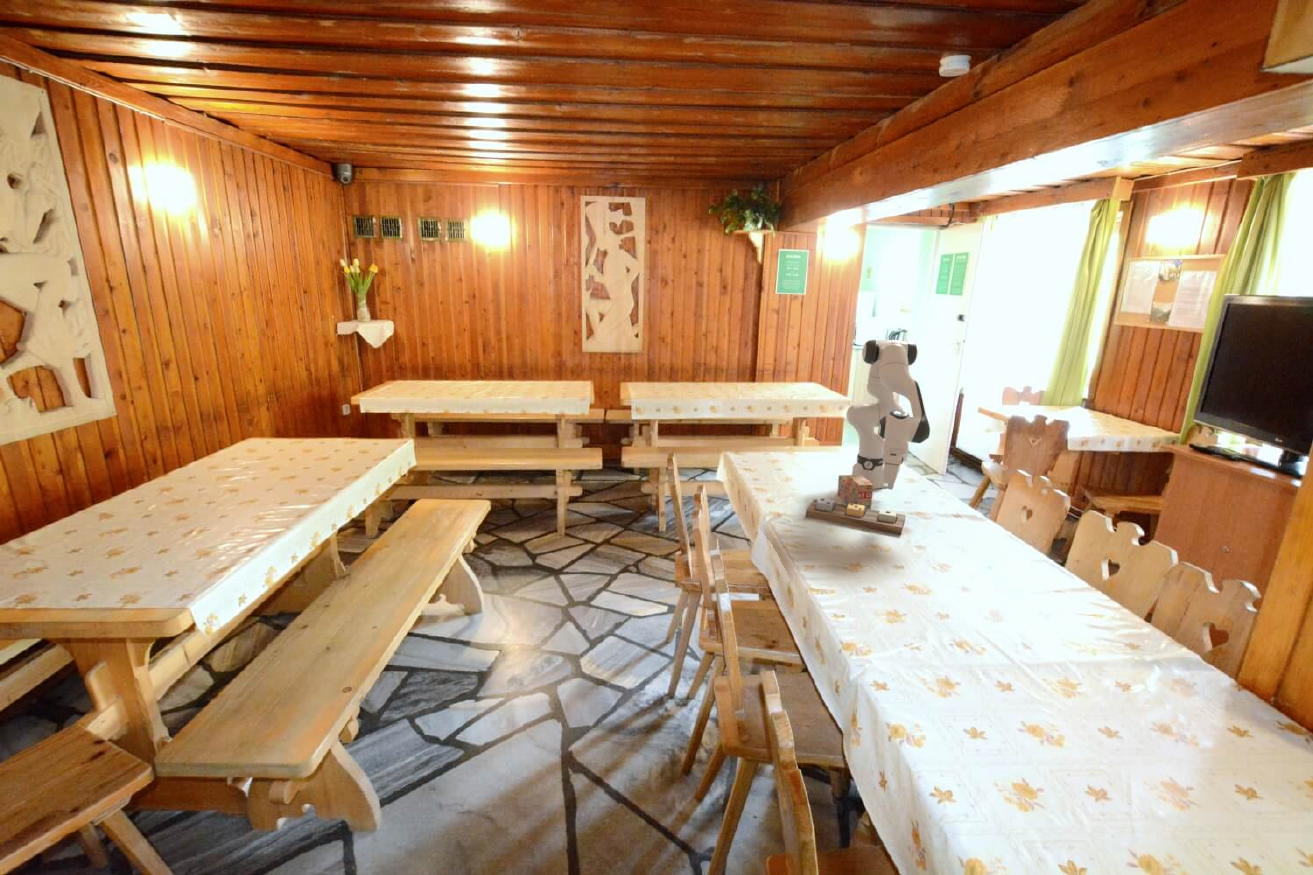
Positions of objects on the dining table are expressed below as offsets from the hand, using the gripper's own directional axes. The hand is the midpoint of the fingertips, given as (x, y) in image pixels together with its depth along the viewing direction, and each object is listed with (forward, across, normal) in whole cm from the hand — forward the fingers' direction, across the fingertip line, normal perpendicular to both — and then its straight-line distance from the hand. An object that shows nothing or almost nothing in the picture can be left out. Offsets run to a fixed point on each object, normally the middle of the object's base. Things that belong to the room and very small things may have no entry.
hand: (890, 488), depth 224 cm
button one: (+14, 0, 0) cm, 14 cm away
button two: (+14, 0, -24) cm, 28 cm away
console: (+15, 0, -12) cm, 19 cm away
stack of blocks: (+16, -20, -16) cm, 30 cm away
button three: (+14, 0, -12) cm, 18 cm away
